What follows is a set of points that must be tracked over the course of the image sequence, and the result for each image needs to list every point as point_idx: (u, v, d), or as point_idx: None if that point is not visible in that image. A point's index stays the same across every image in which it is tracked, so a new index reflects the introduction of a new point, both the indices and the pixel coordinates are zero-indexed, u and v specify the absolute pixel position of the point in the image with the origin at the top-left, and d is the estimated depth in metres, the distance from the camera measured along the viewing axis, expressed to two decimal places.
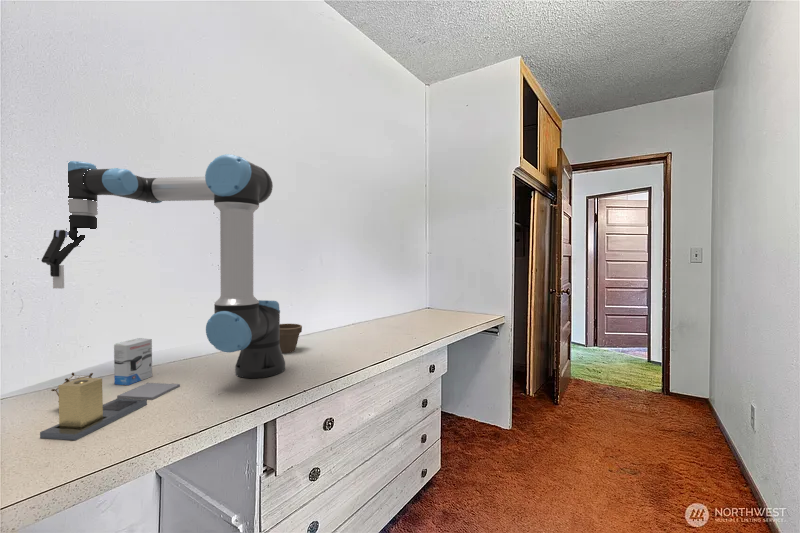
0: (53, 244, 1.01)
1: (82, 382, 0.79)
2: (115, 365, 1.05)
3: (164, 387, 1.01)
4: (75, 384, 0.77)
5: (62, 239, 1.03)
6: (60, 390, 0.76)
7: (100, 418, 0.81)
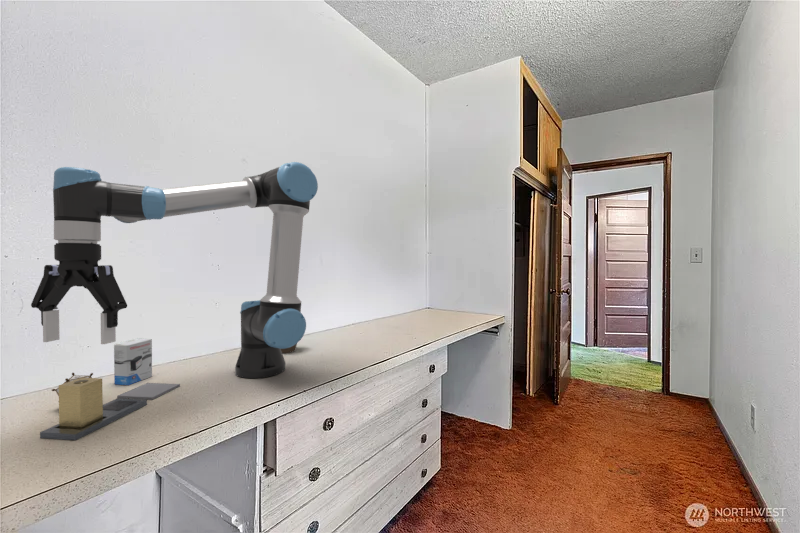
0: None
1: (82, 382, 0.79)
2: (115, 365, 1.05)
3: (164, 387, 1.01)
4: (75, 384, 0.77)
5: (45, 277, 0.78)
6: (60, 390, 0.76)
7: (100, 418, 0.81)
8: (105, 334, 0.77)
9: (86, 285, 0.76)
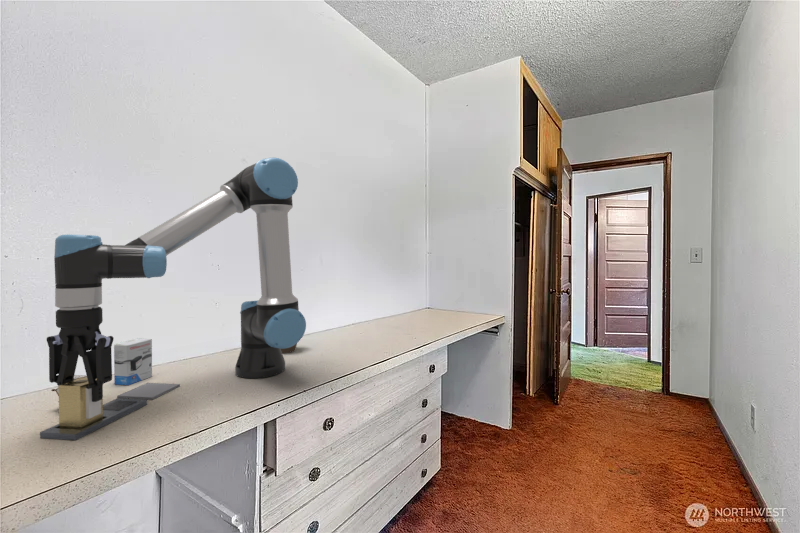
0: None
1: (82, 382, 0.79)
2: (115, 365, 1.05)
3: (164, 387, 1.01)
4: (75, 384, 0.77)
5: (51, 349, 0.78)
6: (60, 390, 0.76)
7: (100, 418, 0.80)
8: (90, 409, 0.77)
9: (82, 354, 0.77)
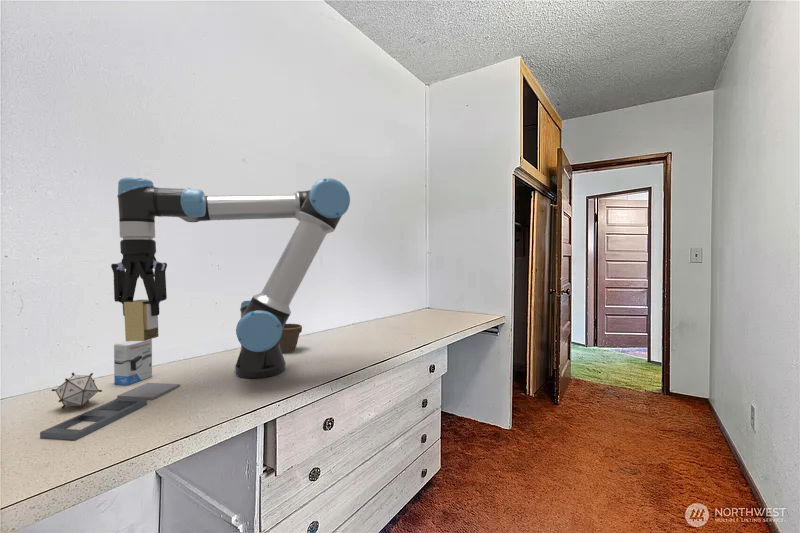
0: None
1: (142, 300, 0.95)
2: (115, 365, 1.05)
3: (164, 387, 1.01)
4: (137, 301, 0.94)
5: (115, 273, 0.94)
6: (125, 306, 0.93)
7: (156, 332, 0.98)
8: (150, 321, 0.94)
9: (143, 276, 0.94)
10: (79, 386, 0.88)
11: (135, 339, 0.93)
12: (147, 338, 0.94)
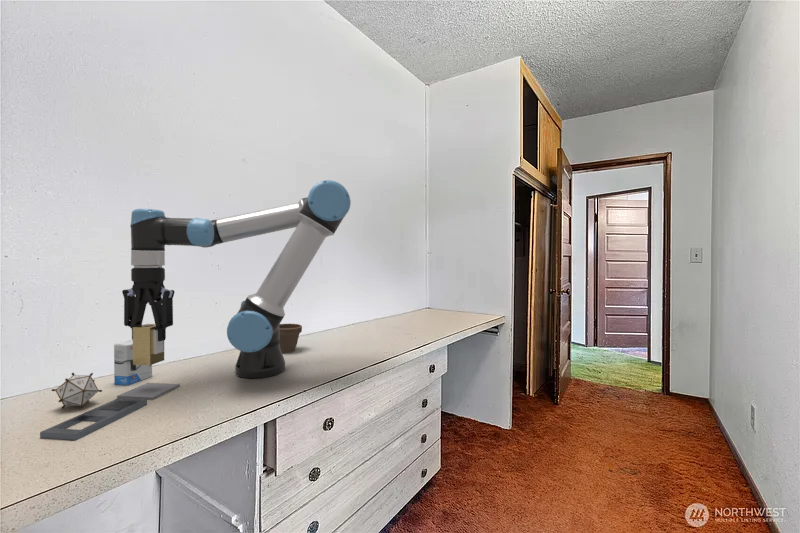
0: None
1: (149, 325, 0.99)
2: (115, 365, 1.05)
3: (164, 387, 1.01)
4: (145, 326, 0.98)
5: (126, 299, 0.99)
6: (134, 331, 0.97)
7: (162, 355, 1.01)
8: (156, 346, 0.98)
9: (151, 303, 0.97)
10: (79, 386, 0.88)
11: (142, 363, 0.97)
12: (153, 362, 0.98)
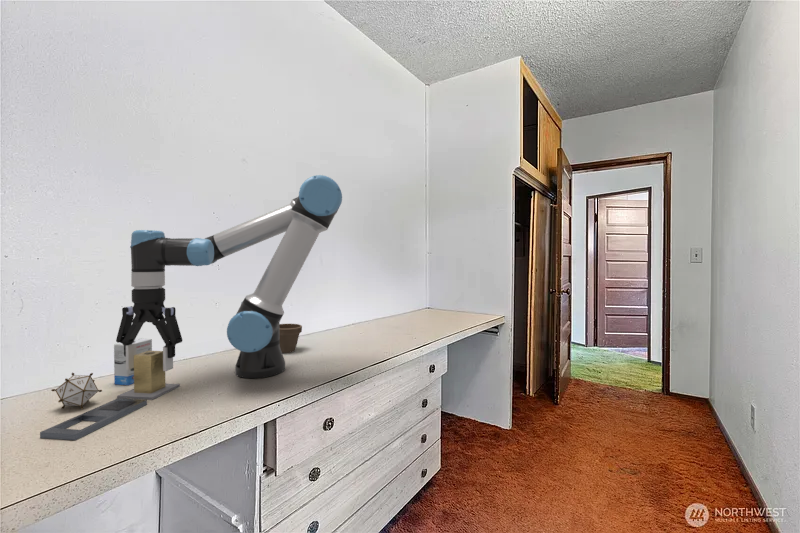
0: None
1: (150, 353, 1.00)
2: (115, 365, 1.05)
3: (164, 387, 1.01)
4: (146, 354, 0.98)
5: (124, 317, 0.99)
6: (135, 359, 0.97)
7: (163, 382, 1.02)
8: (166, 363, 0.98)
9: (155, 322, 0.97)
10: (79, 386, 0.88)
11: (143, 391, 0.97)
12: (154, 390, 0.98)
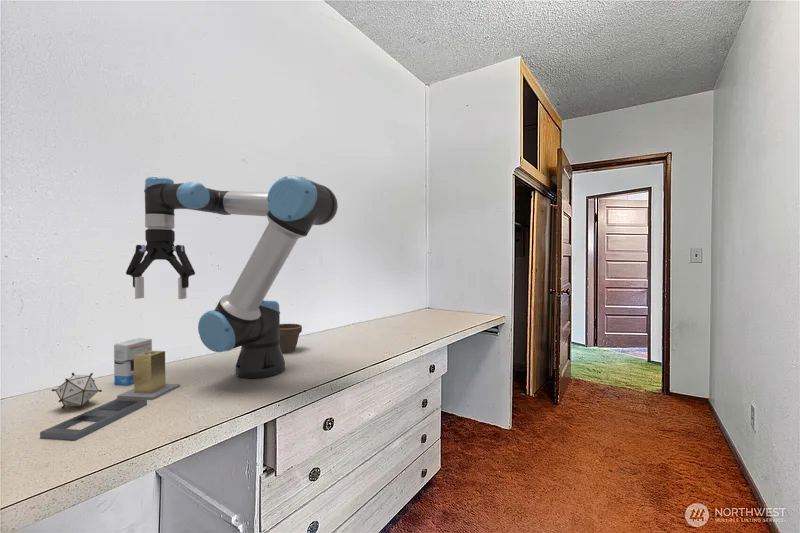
0: None
1: (150, 353, 1.00)
2: (115, 365, 1.05)
3: (164, 387, 1.01)
4: (146, 354, 0.98)
5: (136, 253, 1.11)
6: (135, 359, 0.97)
7: (163, 382, 1.02)
8: (181, 292, 1.11)
9: (168, 258, 1.10)
10: (79, 386, 0.88)
11: (143, 391, 0.97)
12: (154, 390, 0.98)
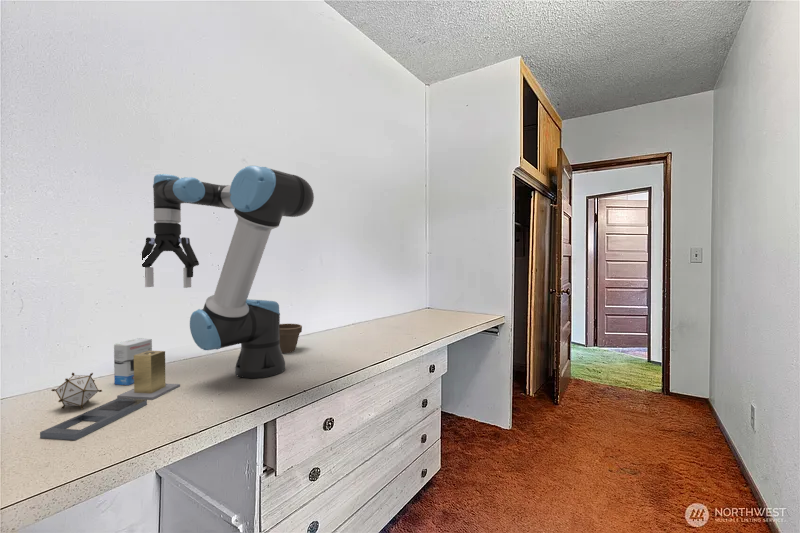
0: None
1: (150, 353, 1.00)
2: (115, 365, 1.05)
3: (164, 387, 1.01)
4: (146, 354, 0.98)
5: (146, 245, 1.21)
6: (135, 359, 0.97)
7: (163, 382, 1.02)
8: (186, 281, 1.19)
9: (174, 249, 1.19)
10: (79, 386, 0.88)
11: (143, 391, 0.97)
12: (154, 390, 0.98)
